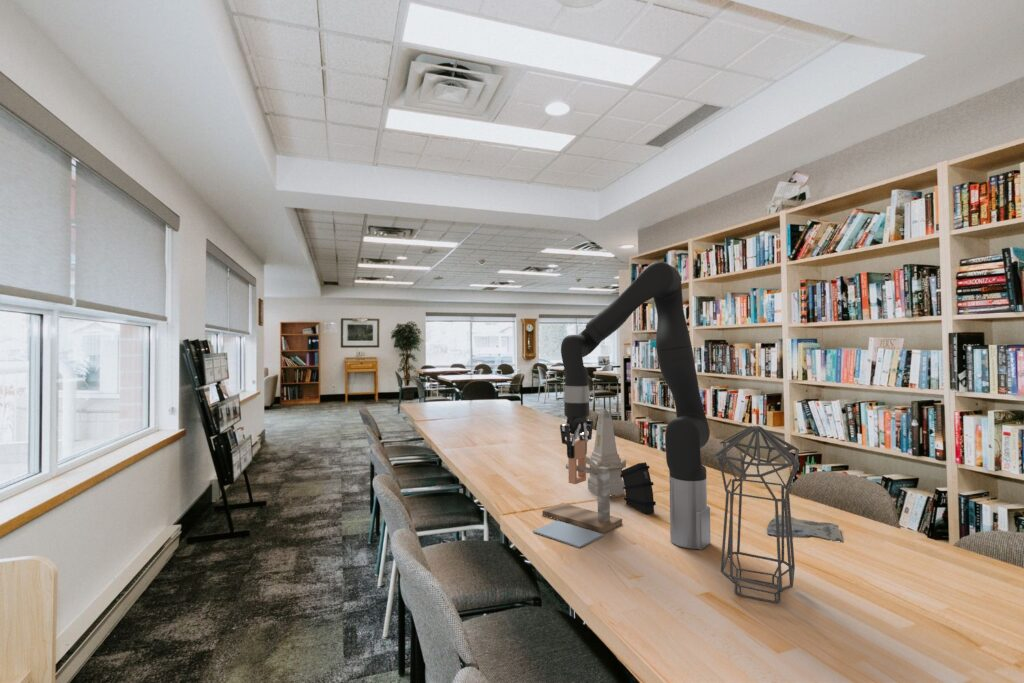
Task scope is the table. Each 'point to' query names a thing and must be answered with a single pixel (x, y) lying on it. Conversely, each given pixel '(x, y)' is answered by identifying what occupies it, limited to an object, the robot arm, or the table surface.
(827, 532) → the fossil rock
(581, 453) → the salmon hollow block
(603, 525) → the stand
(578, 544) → the mat
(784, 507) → the geometric lantern
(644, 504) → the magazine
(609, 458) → the miniature monument
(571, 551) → the table surface
